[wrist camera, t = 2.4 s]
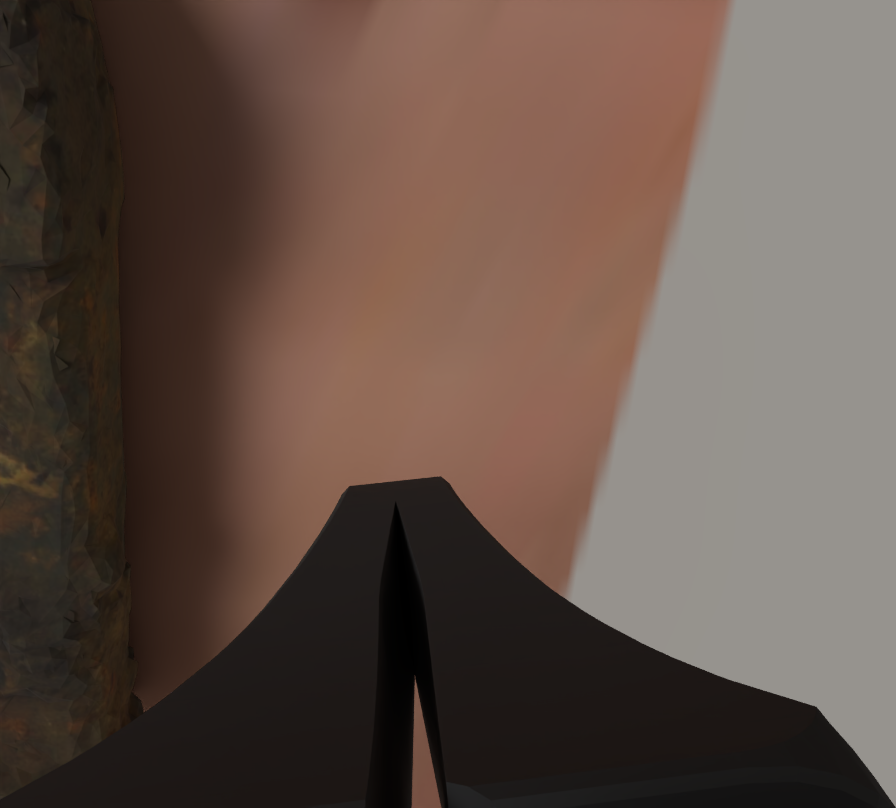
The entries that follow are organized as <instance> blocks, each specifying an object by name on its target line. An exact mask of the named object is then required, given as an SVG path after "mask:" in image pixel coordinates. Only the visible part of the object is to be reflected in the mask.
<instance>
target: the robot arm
mask: <svg viewBox="0 0 896 808" xmlns="http://www.w3.org/2000/svg"><path fill="white" fill-rule="evenodd" d="M415 678H416V683H417V688H418V693H419V698H420V703H421V708H422V713H423V718H424V723H425V728H426V733H427V738H428V743H429V748H430V753H431V758H432V763H433V768H434V773H435V778H436V783H437V788H438V793H439V798H440V803H441V808H895V806H894V804H893V803H892V802H891V800H890V799H889V797H888V796H887V795H886V793H885V792H884V790H883V789H882V787H881V786H880V785H879V783H878V782H877V780H876V779H875V777H874V776H873V775H872V773H871V772H870V771H869V770H868V768H867V767H866V766H865V764H864V763H863V762H862V761H861V759H860V758H859V757H858V755H857V754H856V753H855V751H854V750H853V749H852V748H851V747H850V746H849V745H848V744H847V742H846V741H845V740H844V739H843V738H842V737H841V736H840V734H839V733H838V732H837V731H836V730H835V729H834V728H833V727H832V725H831V724H830V723H829V722H828V721H827V719H826V718H825V717H824V716H823V715H822V713H821V712H820V711H819V709H818V708H817V707H815V706H812V705H808V704H805V703H802V702H798V701H796V700H792V699H789V698H786V697H783V696H779V695H776V694H773V693H770V692H767V691H763V690H760V689H757V688H754V687H750V686H747V685H744V684H741V683H738V682H734V681H731V680H728V679H725V678H722V677H720V676H717V675H714V674H712V673H710V672H707V671H705V670H702V669H700V668H697V667H695V666H692V665H690V664H687V663H685V662H682V661H680V660H677V659H675V658H672V657H670V656H668V655H666V654H664V653H662V652H659V651H657V650H655V649H653V648H650V647H649V646H646V645H644V644H642V643H640V642H638V641H636V640H635V639H632V638H631V637H629V636H627V635H625V634H623V633H621V632H620V631H618V630H616V629H614V628H612V627H610V626H608V625H606V624H604V623H603V622H601V621H599V620H598V619H596V618H594V617H593V616H591V615H589V614H588V613H586V612H584V611H583V610H581V609H580V608H578V607H577V606H575V605H574V604H572V603H571V602H569V601H568V600H566V599H565V598H563V597H562V596H560V595H559V594H558V593H556V592H555V591H553V590H552V589H550V588H549V587H548V586H547V585H545V584H544V583H543V582H542V581H540V580H539V579H538V578H537V577H536V576H535V575H533V574H532V573H531V572H530V571H529V570H528V569H526V568H525V567H524V566H523V565H522V564H521V563H519V562H518V561H517V560H516V559H515V558H514V557H513V556H512V555H511V554H510V553H509V552H508V551H507V550H506V549H505V548H504V547H503V546H502V545H501V544H500V543H499V542H498V541H497V540H496V539H495V538H494V537H493V536H492V535H491V534H490V533H489V532H488V531H487V530H486V529H485V528H484V527H483V526H482V525H481V524H480V522H479V521H478V520H477V519H476V518H475V517H474V516H473V514H472V513H471V512H470V511H469V510H468V508H467V507H466V506H465V505H464V504H463V502H462V501H461V500H460V498H459V497H458V496H457V494H456V493H455V491H454V490H453V488H452V487H451V485H450V484H449V483H448V482H447V481H446V480H445V479H443V478H442V477H441V476H440V477H431V478H422V479H412V480H403V481H394V482H384V483H375V484H366V485H356V486H349V487H348V488H347V489H346V491H345V492H344V493H343V494H342V495H341V497H340V499H339V501H338V503H337V505H336V507H335V509H334V510H333V512H332V514H331V516H330V517H329V519H328V521H327V522H326V524H325V526H324V527H323V529H322V530H321V532H320V534H319V535H318V537H317V538H316V540H315V541H314V543H313V544H312V546H311V547H310V549H309V550H308V551H307V553H306V554H305V556H304V557H303V559H302V560H301V562H300V563H299V565H298V566H297V567H296V569H295V570H294V571H293V573H292V574H291V575H290V576H289V578H288V579H287V580H286V581H285V583H284V584H283V585H282V586H281V588H280V589H279V590H278V591H277V593H276V594H275V595H274V596H273V598H272V599H271V600H270V601H269V603H268V604H267V605H266V606H265V607H264V609H263V610H262V611H261V612H260V613H259V614H258V615H257V616H256V617H255V619H254V620H253V621H252V622H251V623H250V624H249V625H248V626H247V627H246V628H245V629H244V630H243V631H242V632H241V633H240V634H239V635H238V636H237V637H236V638H235V639H234V640H233V641H232V642H231V643H230V644H229V645H228V646H227V647H226V648H225V649H224V650H222V651H221V652H220V653H219V654H218V655H217V656H216V657H215V658H213V659H212V660H211V661H210V662H208V663H207V664H206V665H205V666H204V667H202V668H201V669H200V670H199V671H197V672H196V673H195V674H194V675H193V676H191V677H190V678H189V679H188V680H186V681H185V682H184V683H183V684H181V685H180V686H179V687H178V688H177V689H175V690H174V691H173V692H172V693H170V694H169V695H168V696H167V697H165V698H164V699H163V700H161V701H160V702H159V703H157V704H156V705H155V706H153V707H152V708H150V709H149V710H147V711H146V712H145V713H143V714H142V715H140V716H139V717H138V718H136V719H135V720H133V721H132V722H130V723H129V724H128V725H126V726H124V727H123V728H121V729H120V730H118V731H117V732H115V733H114V734H112V735H111V736H109V737H108V738H106V739H104V740H103V741H101V742H100V743H98V744H97V745H95V746H94V747H92V748H90V749H89V750H87V751H85V752H84V753H82V754H81V755H79V756H77V757H76V758H74V759H72V760H71V761H69V762H67V763H65V764H64V765H62V766H60V767H58V768H56V769H54V770H53V771H51V772H49V773H47V774H45V775H44V776H42V777H40V778H38V779H36V780H35V781H33V782H31V783H29V784H27V785H25V786H24V787H22V788H20V789H18V790H16V791H15V792H13V793H11V794H9V795H7V796H6V797H4V798H2V799H0V808H411V806H412V767H413V729H414V685H415Z"/></svg>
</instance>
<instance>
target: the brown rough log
mask: <svg viewBox="0 0 896 808" xmlns="http://www.w3.org/2000/svg"><path fill="white" fill-rule="evenodd" d="M123 201H124V175H123V164H122V152H121V144H120V138H119V130H118V122H117V115H116V107H115V100H114V92H113V88H112V86H111V84H110V83H109V78H108V73H107V69H106V64H105V60H104V54H103V48H102V44H101V40H100V36H99V32H98V28H97V25H96V21H95V17H94V12H93V8H92V4H91V0H0V799H2V798H4V797H6V796H7V795H9V794H11V793H13V792H15V791H16V790H18V789H20V788H22V787H24V786H25V785H27V784H29V783H31V782H33V781H35V780H36V779H38V778H40V777H42V776H44V775H45V774H47V773H49V772H51V771H53V770H54V769H56V768H58V767H60V766H62V765H64V764H65V763H67V762H69V761H71V760H72V759H74V758H76V757H77V756H79V755H81V754H82V753H84V752H85V751H87V750H89V749H90V748H92V747H94V746H95V745H97V744H98V743H100V742H101V741H103V740H104V739H106V738H108V737H109V736H111V735H112V734H114V733H115V732H117V731H118V730H120V729H121V728H123V727H124V726H126V725H128V724H129V723H130V722H132V721H133V720H135V719H136V718H138V717H139V716H140V715H142V714H143V713H144V712H143V707H142V702H141V700H140V699H139V698H138V697H137V696H136V695H134V694H133V693H132V692H131V691H132V689H133V686H134V683H135V679H136V676H137V672H138V668H137V661H136V660H134V650H133V648H131V647H129V646H128V642H129V614H130V610H131V588H130V581H129V579H130V574H131V567H130V564H129V563H128V562H127V561H126V559H125V540H124V522H125V507H126V491H127V477H126V472H125V470H124V449H123V425H122V394H121V336H120V317H119V265H118V233H119V223H120V214H121V206H122V203H123Z"/></svg>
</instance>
